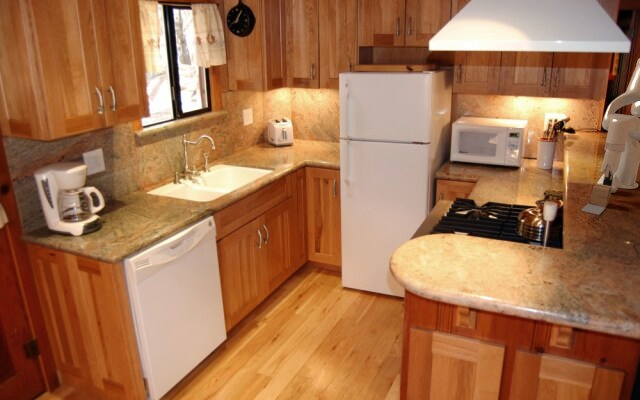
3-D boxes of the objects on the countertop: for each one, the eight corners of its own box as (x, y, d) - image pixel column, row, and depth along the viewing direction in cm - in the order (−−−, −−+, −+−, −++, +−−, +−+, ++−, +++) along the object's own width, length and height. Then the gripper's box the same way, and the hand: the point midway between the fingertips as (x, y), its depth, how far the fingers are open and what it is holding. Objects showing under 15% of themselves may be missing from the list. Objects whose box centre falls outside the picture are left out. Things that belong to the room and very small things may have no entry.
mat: (587, 204, 218) (587, 203, 217) (605, 208, 213) (605, 207, 213) (580, 211, 211) (580, 210, 210) (599, 215, 206) (599, 214, 206)
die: (617, 197, 228) (628, 178, 228) (600, 187, 228) (611, 168, 228) (606, 198, 236) (617, 179, 236) (590, 187, 236) (601, 169, 236)
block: (593, 200, 222) (596, 183, 219) (608, 203, 219) (612, 186, 216) (589, 204, 218) (592, 186, 215) (604, 207, 214) (608, 189, 212)
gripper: (609, 142, 224) (601, 182, 230) (600, 148, 213) (592, 190, 219) (629, 145, 219) (620, 185, 225) (620, 151, 208) (611, 193, 215)
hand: (606, 187), depth 222 cm, fingers closed
